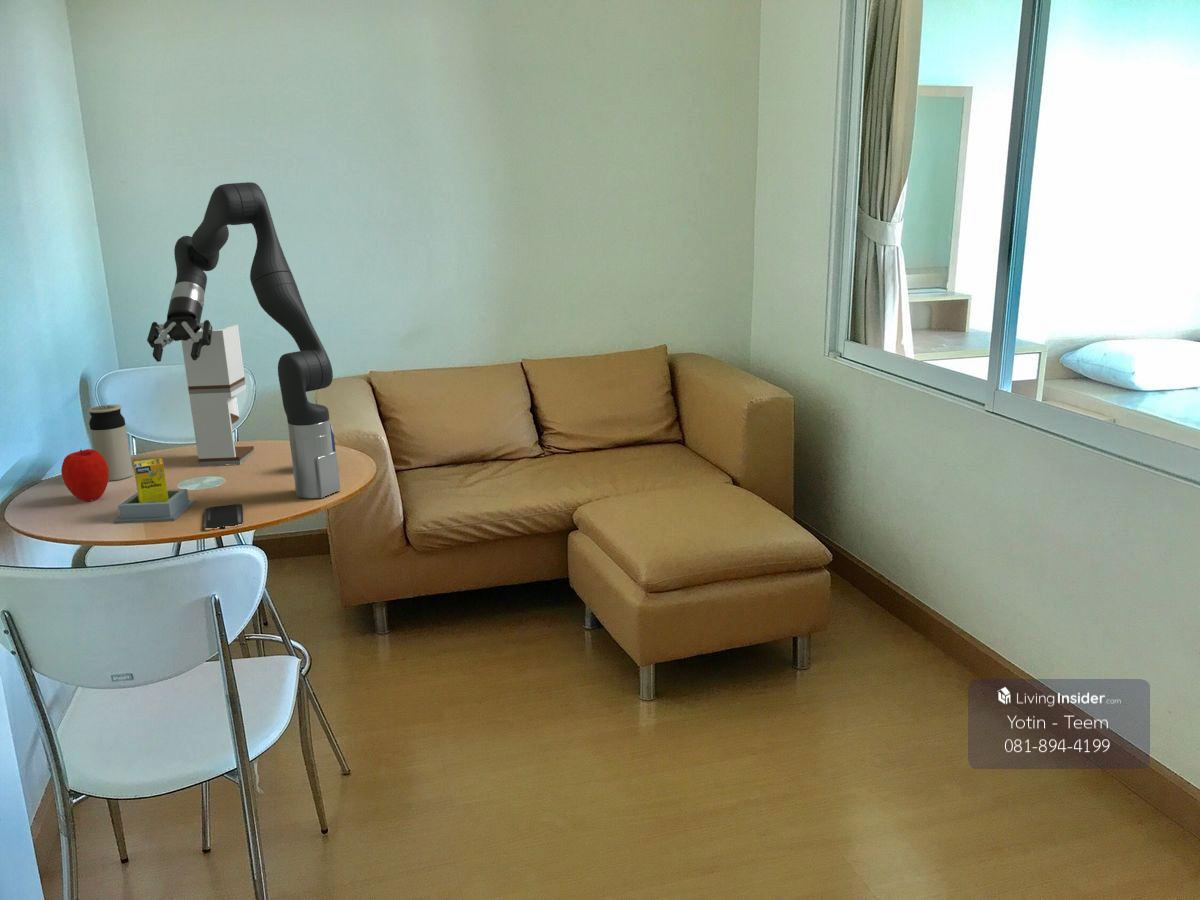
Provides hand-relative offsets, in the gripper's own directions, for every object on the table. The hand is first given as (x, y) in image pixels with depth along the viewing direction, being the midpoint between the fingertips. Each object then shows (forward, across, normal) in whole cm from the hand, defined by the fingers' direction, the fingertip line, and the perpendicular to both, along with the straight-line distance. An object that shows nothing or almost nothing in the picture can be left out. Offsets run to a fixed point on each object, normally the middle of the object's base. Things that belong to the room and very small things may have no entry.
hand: (175, 359), depth 235 cm
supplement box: (+37, 0, +5) cm, 38 cm away
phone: (+43, +17, +1) cm, 46 cm away
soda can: (+16, +30, +28) cm, 44 cm away
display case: (+7, +1, +37) cm, 38 cm away
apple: (+29, -20, +15) cm, 38 cm away
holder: (+38, 0, +6) cm, 38 cm away
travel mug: (+16, -22, +28) cm, 39 cm away
